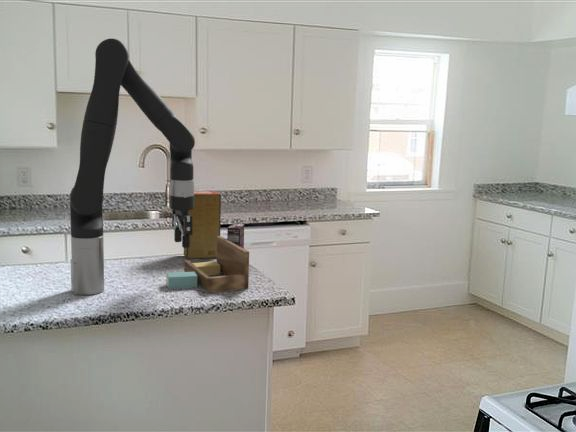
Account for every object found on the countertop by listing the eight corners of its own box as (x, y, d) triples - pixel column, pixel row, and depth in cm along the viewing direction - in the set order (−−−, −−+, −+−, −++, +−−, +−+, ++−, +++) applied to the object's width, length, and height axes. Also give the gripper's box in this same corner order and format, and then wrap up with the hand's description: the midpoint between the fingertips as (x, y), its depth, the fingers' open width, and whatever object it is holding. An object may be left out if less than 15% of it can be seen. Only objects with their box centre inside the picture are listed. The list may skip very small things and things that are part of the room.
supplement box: (231, 265, 215) (231, 223, 212) (244, 266, 214) (245, 223, 212) (226, 271, 206) (226, 227, 204) (239, 272, 206) (240, 228, 203)
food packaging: (215, 252, 235) (216, 190, 230) (220, 257, 226) (221, 193, 222) (182, 253, 230) (183, 190, 226) (186, 259, 222) (186, 194, 217)
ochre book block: (194, 277, 199) (194, 267, 198) (190, 273, 204) (190, 263, 203) (220, 275, 202) (220, 265, 202) (215, 271, 207) (215, 261, 207)
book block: (168, 289, 183) (168, 277, 182) (166, 284, 188) (166, 272, 188) (197, 288, 186) (197, 275, 185) (194, 283, 191) (194, 271, 191)
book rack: (208, 292, 181) (209, 254, 179) (184, 271, 204) (184, 238, 202) (248, 288, 187) (249, 251, 185) (220, 268, 210) (220, 235, 208)
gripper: (164, 191, 187) (164, 241, 189) (176, 197, 174) (176, 250, 177) (186, 190, 190) (186, 239, 193) (200, 196, 178) (200, 248, 180)
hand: (181, 244), depth 185 cm, fingers open, 8 cm apart
